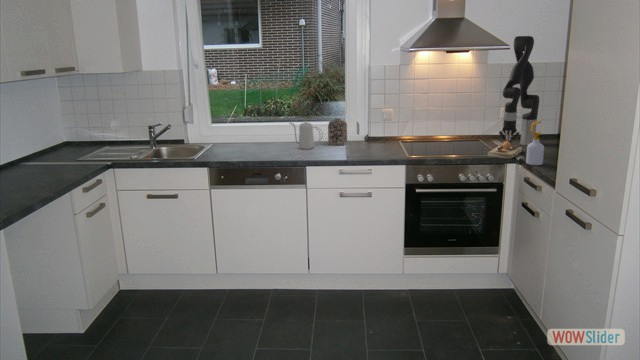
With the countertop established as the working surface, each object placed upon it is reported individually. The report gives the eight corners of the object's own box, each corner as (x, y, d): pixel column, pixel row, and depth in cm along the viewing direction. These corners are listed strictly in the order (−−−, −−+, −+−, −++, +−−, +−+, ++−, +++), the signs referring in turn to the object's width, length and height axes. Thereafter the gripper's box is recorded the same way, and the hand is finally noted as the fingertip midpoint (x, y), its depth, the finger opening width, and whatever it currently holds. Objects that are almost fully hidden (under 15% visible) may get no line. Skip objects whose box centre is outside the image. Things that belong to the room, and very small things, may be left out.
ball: (504, 146, 332) (503, 139, 329) (512, 147, 329) (511, 140, 326) (501, 150, 328) (501, 143, 326) (509, 151, 326) (509, 144, 323)
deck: (499, 149, 340) (500, 143, 339) (522, 151, 332) (522, 145, 331) (487, 156, 322) (488, 150, 321) (510, 158, 314) (511, 152, 313)
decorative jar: (347, 142, 376) (347, 117, 372) (344, 145, 365) (344, 120, 361) (331, 142, 379) (330, 117, 374) (327, 145, 368) (327, 119, 363)
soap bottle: (544, 165, 295) (548, 122, 289) (527, 165, 297) (530, 122, 291) (541, 161, 304) (544, 120, 297) (524, 161, 306) (527, 119, 299)
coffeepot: (292, 145, 370) (291, 119, 365) (325, 147, 361) (325, 120, 356) (286, 148, 360) (285, 121, 355) (319, 150, 351) (319, 122, 346)
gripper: (522, 119, 325) (520, 146, 330) (501, 117, 332) (499, 144, 337) (519, 120, 319) (517, 148, 324) (497, 119, 327) (495, 146, 331)
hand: (508, 146), depth 330 cm, fingers closed
